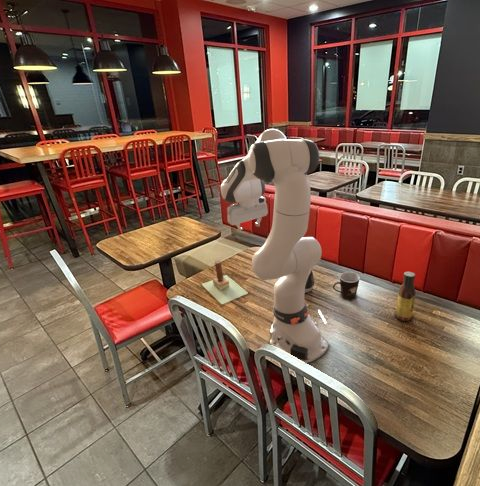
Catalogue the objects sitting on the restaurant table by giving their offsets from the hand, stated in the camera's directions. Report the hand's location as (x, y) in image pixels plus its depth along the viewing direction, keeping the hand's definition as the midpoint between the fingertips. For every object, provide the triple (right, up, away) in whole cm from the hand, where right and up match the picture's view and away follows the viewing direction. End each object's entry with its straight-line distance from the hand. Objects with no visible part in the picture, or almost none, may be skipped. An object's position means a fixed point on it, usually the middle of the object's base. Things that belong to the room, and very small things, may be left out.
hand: (249, 228), depth 147 cm
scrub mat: (-12, -29, +3) cm, 32 cm away
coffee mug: (+44, -31, -7) cm, 54 cm away
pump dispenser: (+26, -29, -1) cm, 39 cm away
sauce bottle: (+65, -37, -22) cm, 77 cm away
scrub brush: (-14, -28, +5) cm, 32 cm away
